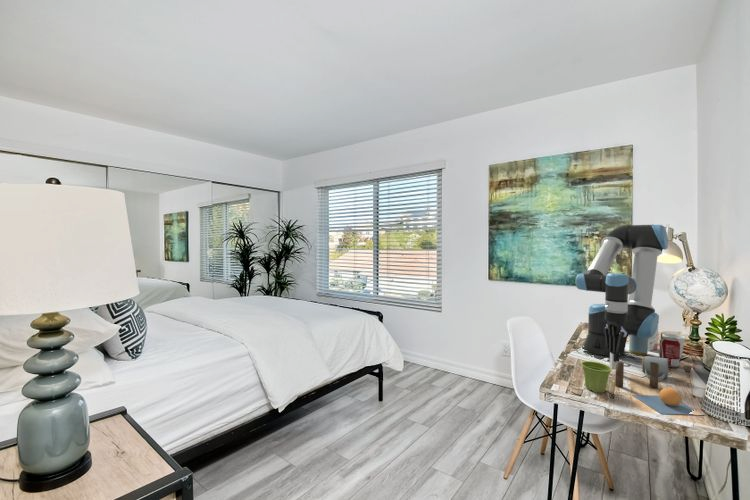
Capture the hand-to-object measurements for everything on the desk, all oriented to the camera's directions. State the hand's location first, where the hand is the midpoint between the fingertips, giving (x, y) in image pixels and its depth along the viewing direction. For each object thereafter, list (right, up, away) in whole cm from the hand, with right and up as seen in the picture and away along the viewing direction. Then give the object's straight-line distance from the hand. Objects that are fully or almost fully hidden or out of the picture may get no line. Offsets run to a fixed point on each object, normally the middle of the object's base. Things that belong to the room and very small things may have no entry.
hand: (614, 368), depth 140 cm
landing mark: (-2, -3, -27) cm, 27 cm away
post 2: (+5, -2, -13) cm, 15 cm away
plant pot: (-18, -3, -15) cm, 23 cm away
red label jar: (+42, -2, +21) cm, 47 cm away
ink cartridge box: (+40, -2, +33) cm, 52 cm away
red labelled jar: (+31, -2, +9) cm, 32 cm away
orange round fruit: (0, 0, -27) cm, 27 cm away
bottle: (+29, -2, +26) cm, 39 cm away
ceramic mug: (+14, -3, -3) cm, 15 cm away
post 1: (-7, -2, -13) cm, 15 cm away
